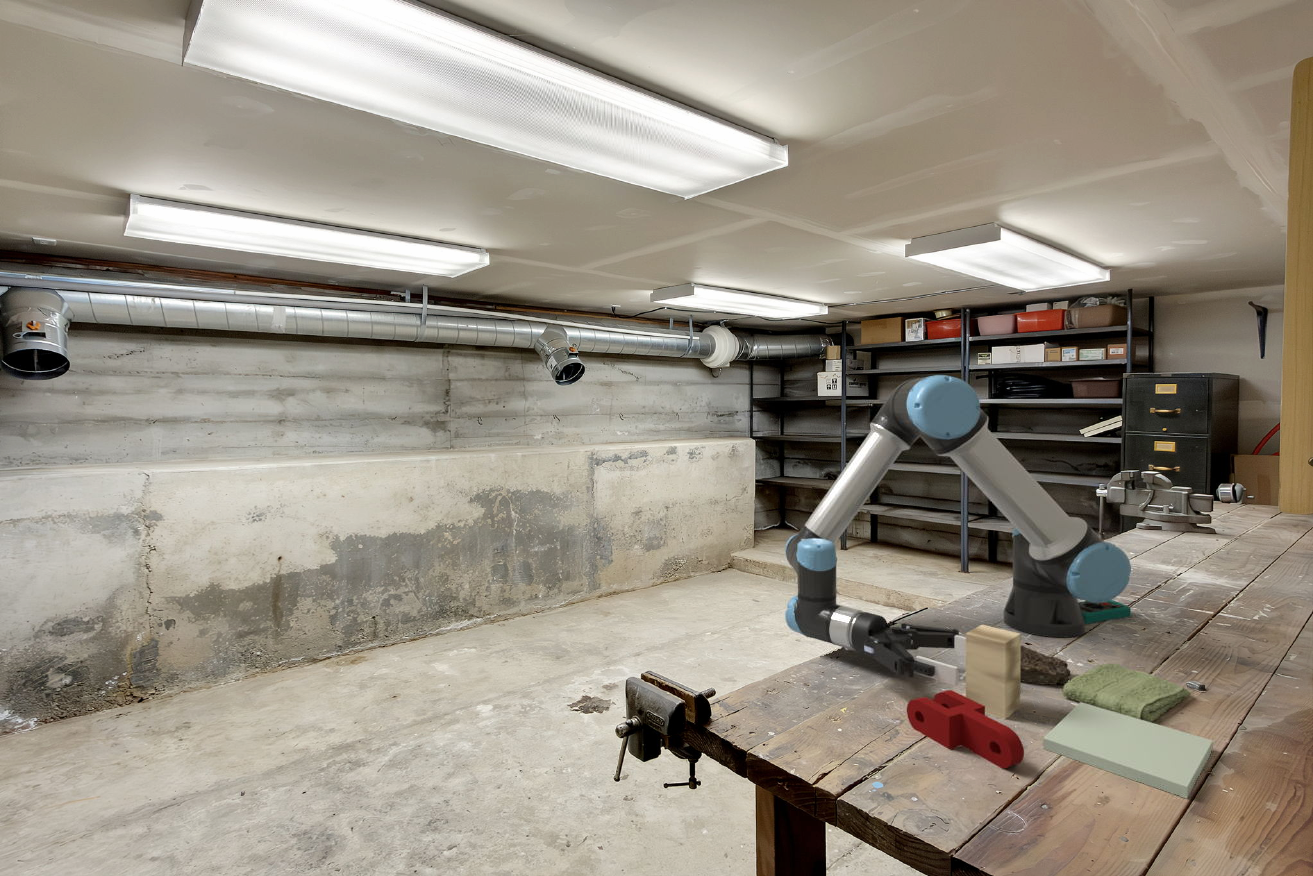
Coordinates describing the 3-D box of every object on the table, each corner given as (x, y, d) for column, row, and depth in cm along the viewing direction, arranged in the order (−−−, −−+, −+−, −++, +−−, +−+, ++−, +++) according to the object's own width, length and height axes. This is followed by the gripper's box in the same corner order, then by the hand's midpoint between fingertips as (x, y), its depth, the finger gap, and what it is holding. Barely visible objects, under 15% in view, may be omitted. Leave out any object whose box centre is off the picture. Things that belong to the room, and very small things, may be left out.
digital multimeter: (1133, 618, 145) (1133, 605, 145) (1084, 626, 141) (1084, 613, 140) (1101, 608, 152) (1101, 596, 152) (1054, 616, 147) (1054, 603, 147)
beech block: (981, 694, 109) (981, 624, 108) (1020, 706, 104) (1020, 633, 104) (965, 706, 105) (965, 633, 104) (1005, 719, 100) (1005, 643, 100)
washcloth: (1194, 700, 106) (1195, 681, 106) (1146, 731, 97) (1147, 710, 97) (1105, 672, 117) (1105, 655, 117) (1054, 698, 108) (1054, 679, 108)
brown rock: (987, 677, 116) (987, 649, 116) (1004, 660, 123) (1004, 634, 123) (1061, 696, 108) (1061, 666, 108) (1075, 676, 115) (1075, 648, 115)
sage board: (1080, 711, 102) (1080, 702, 102) (1212, 751, 90) (1212, 740, 90) (1043, 748, 92) (1043, 738, 92) (1186, 798, 80) (1187, 787, 80)
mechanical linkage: (906, 726, 100) (906, 694, 99) (941, 716, 102) (941, 685, 102) (998, 780, 85) (999, 743, 85) (1035, 766, 88) (1036, 731, 88)
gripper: (895, 634, 130) (1007, 665, 114) (821, 669, 114) (939, 711, 98) (895, 597, 130) (1007, 623, 114) (820, 628, 114) (939, 663, 97)
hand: (976, 664), depth 106 cm, fingers open, 13 cm apart
